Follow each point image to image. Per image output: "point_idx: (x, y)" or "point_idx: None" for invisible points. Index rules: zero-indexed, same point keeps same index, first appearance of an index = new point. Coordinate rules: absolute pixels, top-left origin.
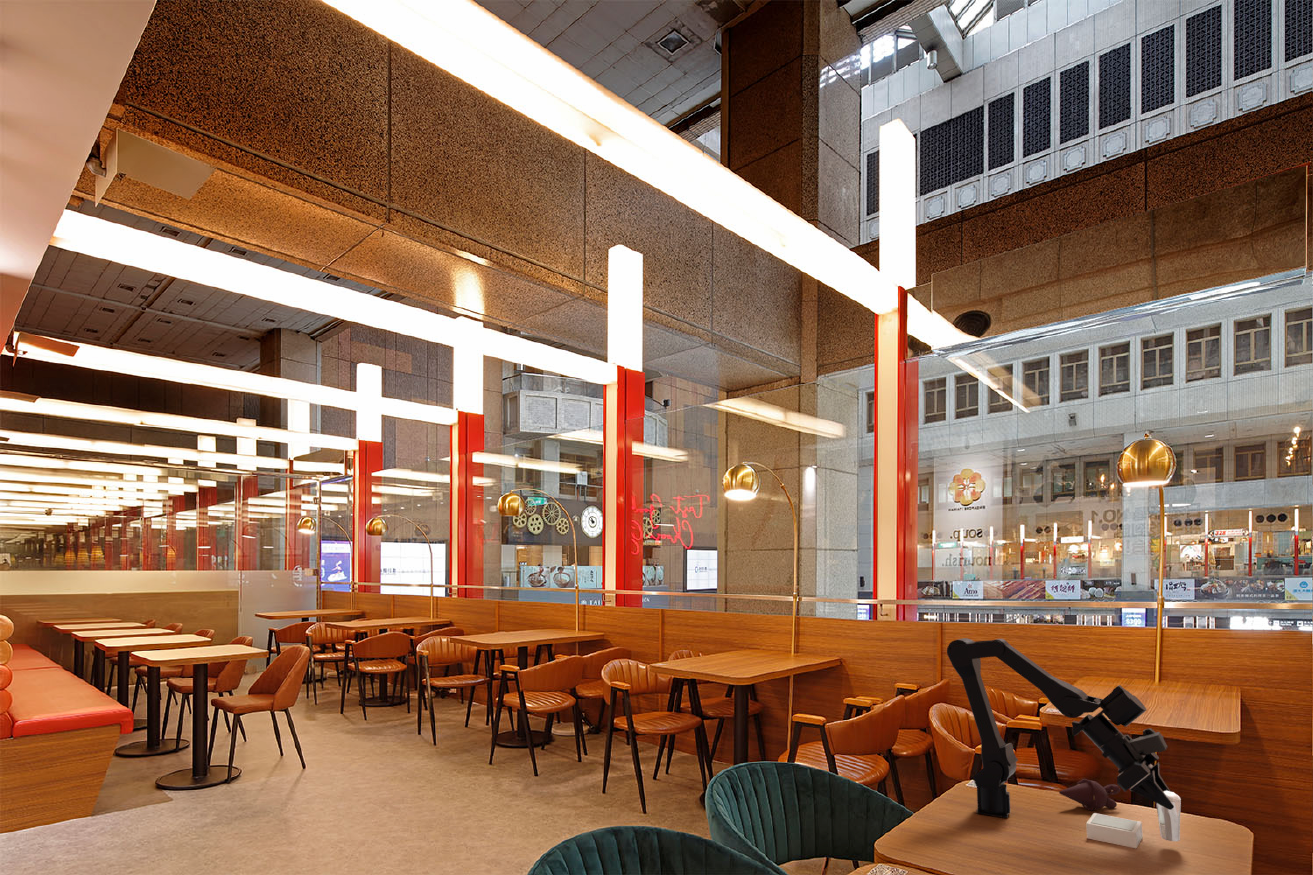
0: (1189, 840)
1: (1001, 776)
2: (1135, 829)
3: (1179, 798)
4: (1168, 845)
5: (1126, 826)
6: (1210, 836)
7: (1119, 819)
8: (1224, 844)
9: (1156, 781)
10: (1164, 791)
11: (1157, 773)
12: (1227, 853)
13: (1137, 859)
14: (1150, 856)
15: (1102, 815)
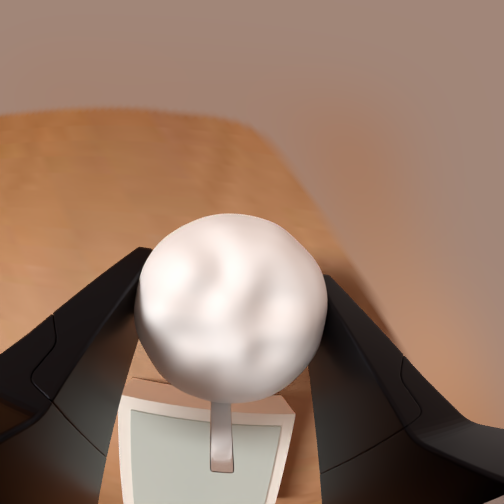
0: (82, 232)
1: None
2: (247, 417)
3: (264, 222)
4: None
5: (237, 445)
6: (25, 175)
7: (152, 462)
8: (79, 142)
9: (82, 411)
10: (185, 336)
11: (30, 433)
12: (165, 138)
13: None
14: None
15: (144, 499)
